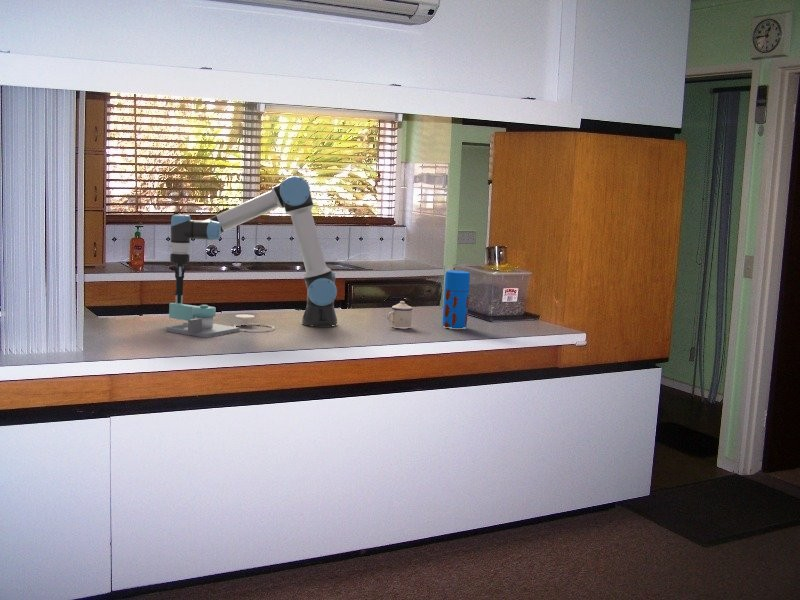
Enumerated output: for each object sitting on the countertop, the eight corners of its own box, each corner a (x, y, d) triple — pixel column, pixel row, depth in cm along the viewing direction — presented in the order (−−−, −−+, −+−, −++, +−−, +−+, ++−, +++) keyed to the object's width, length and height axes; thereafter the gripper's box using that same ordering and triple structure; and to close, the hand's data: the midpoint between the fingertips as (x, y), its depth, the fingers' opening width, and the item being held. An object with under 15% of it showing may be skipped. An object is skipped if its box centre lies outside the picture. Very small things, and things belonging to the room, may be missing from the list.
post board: (239, 331, 344) (240, 315, 343) (200, 338, 324) (201, 321, 323) (201, 325, 353) (201, 309, 352) (160, 332, 333) (161, 315, 332)
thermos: (456, 325, 389) (460, 270, 386) (471, 329, 380) (475, 273, 377) (437, 326, 383) (440, 270, 380) (451, 330, 374) (455, 273, 371)
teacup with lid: (403, 325, 381) (404, 299, 379) (415, 328, 373) (417, 302, 372) (381, 326, 373) (382, 300, 372) (393, 330, 366) (394, 303, 365)
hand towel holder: (245, 323, 340) (221, 315, 356) (245, 334, 340) (221, 326, 356) (283, 321, 350) (258, 313, 366) (282, 331, 351) (257, 323, 367)
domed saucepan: (220, 322, 341) (220, 305, 340) (204, 325, 333) (205, 307, 332) (179, 316, 351) (179, 299, 350) (163, 318, 343) (163, 301, 342)
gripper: (169, 251, 352) (168, 308, 355) (170, 254, 339) (169, 313, 343) (188, 251, 354) (187, 308, 357) (190, 254, 342) (189, 313, 345)
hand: (178, 310), depth 350 cm, fingers closed
